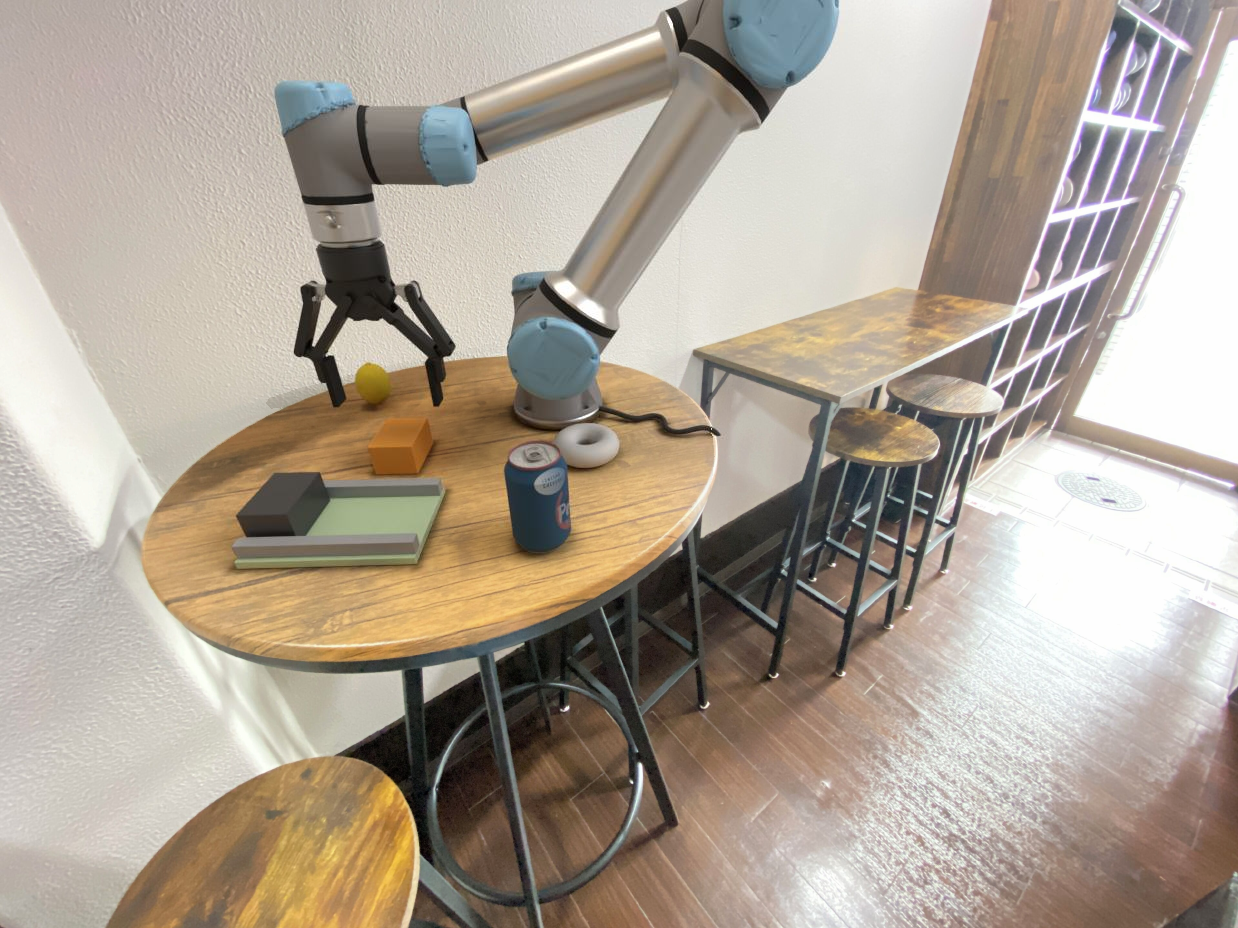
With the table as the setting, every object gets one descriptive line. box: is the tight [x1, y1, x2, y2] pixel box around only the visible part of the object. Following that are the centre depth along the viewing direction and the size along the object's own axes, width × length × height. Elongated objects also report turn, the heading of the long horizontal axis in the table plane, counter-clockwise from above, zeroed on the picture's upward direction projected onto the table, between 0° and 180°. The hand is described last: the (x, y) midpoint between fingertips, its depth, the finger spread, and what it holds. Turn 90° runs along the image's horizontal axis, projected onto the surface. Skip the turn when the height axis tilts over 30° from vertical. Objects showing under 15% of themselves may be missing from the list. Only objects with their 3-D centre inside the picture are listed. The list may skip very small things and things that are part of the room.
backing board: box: [230, 471, 446, 570], centre depth 65 cm, size 20×14×6 cm
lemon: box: [354, 361, 392, 406], centre depth 92 cm, size 6×6×8 cm
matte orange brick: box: [367, 417, 434, 475], centre depth 78 cm, size 6×9×4 cm
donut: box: [552, 422, 621, 469], centre depth 80 cm, size 10×4×10 cm
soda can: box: [503, 440, 572, 555], centre depth 61 cm, size 7×7×12 cm
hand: (389, 403), depth 75 cm, fingers open, 13 cm apart
